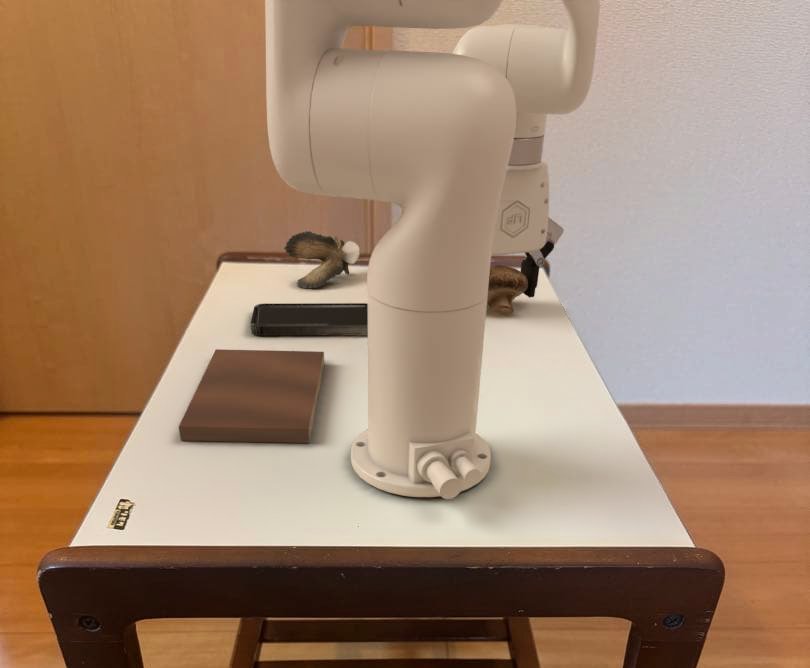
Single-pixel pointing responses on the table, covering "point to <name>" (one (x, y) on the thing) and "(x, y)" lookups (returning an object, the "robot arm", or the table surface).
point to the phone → (310, 319)
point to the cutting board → (255, 397)
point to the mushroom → (504, 287)
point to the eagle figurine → (322, 256)
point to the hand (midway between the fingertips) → (496, 297)
